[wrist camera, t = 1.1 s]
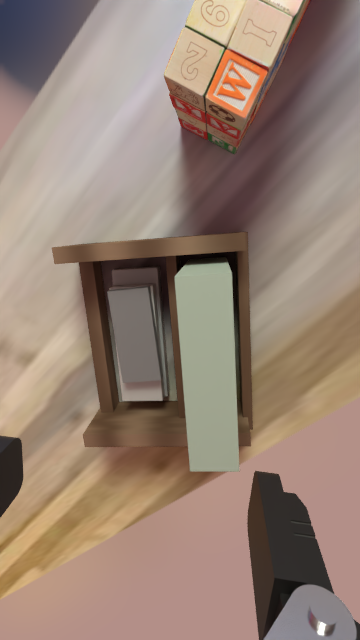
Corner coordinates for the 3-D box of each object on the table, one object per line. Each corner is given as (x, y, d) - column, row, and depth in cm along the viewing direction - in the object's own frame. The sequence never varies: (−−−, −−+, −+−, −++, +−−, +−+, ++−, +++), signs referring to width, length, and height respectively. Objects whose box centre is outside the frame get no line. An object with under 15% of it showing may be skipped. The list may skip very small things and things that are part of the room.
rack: (244, 231, 36) (250, 232, 29) (249, 410, 41) (255, 446, 35) (80, 244, 38) (51, 247, 31) (105, 413, 43) (84, 446, 37)
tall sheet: (226, 256, 37) (231, 272, 24) (231, 391, 41) (239, 471, 28) (189, 259, 38) (174, 276, 24) (198, 392, 42) (190, 471, 28)
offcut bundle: (159, 265, 38) (151, 271, 33) (169, 388, 42) (163, 409, 37) (116, 268, 39) (102, 273, 34) (130, 389, 43) (119, 409, 38)
